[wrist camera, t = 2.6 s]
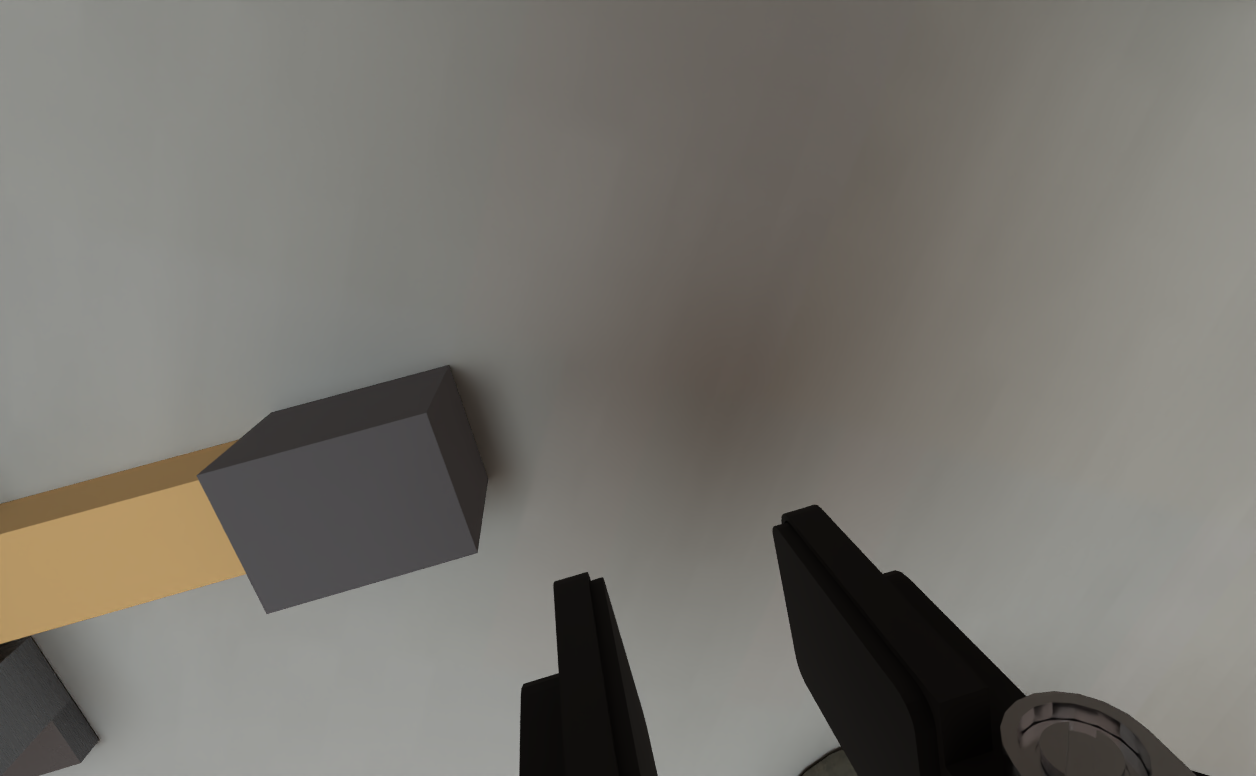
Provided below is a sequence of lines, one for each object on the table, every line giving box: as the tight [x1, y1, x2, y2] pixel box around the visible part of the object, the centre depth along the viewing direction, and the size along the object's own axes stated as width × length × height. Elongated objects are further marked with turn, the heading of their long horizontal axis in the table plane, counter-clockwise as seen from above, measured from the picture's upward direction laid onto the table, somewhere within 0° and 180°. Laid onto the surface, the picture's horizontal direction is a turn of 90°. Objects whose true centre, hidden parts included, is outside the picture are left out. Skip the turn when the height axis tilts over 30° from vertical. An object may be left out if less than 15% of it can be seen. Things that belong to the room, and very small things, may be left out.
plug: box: [0, 365, 488, 644], centre depth 19 cm, size 22×4×5 cm, turn 104°
